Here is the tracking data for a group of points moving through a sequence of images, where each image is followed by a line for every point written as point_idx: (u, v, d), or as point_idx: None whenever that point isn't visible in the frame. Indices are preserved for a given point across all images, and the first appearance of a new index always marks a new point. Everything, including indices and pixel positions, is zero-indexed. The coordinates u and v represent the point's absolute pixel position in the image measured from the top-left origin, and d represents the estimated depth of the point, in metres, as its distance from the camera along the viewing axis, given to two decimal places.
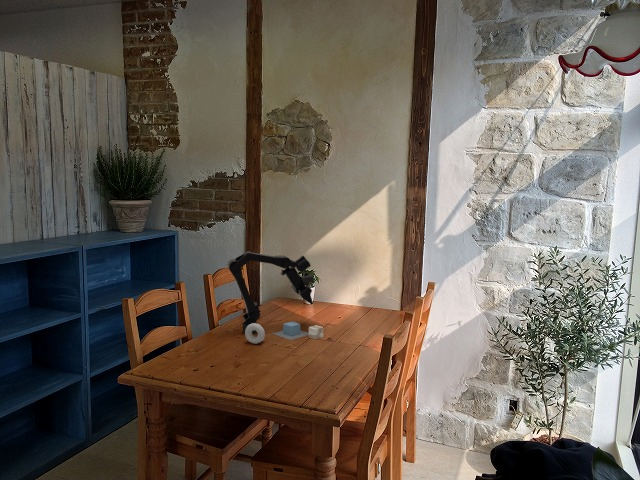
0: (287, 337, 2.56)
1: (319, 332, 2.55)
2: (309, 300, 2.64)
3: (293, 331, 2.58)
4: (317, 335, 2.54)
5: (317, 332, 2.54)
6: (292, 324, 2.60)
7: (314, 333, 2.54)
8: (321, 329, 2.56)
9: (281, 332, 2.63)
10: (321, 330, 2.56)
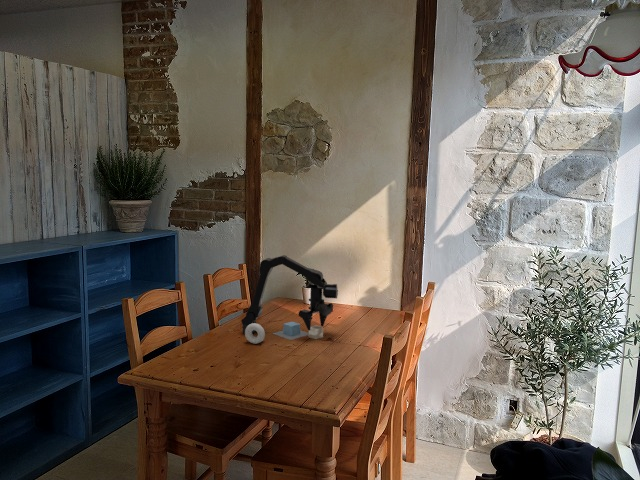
0: (287, 337, 2.56)
1: (319, 332, 2.55)
2: (307, 325, 2.52)
3: (293, 331, 2.58)
4: (317, 335, 2.54)
5: (317, 332, 2.54)
6: (292, 324, 2.60)
7: (314, 333, 2.54)
8: (321, 329, 2.56)
9: (281, 332, 2.63)
10: (321, 330, 2.56)
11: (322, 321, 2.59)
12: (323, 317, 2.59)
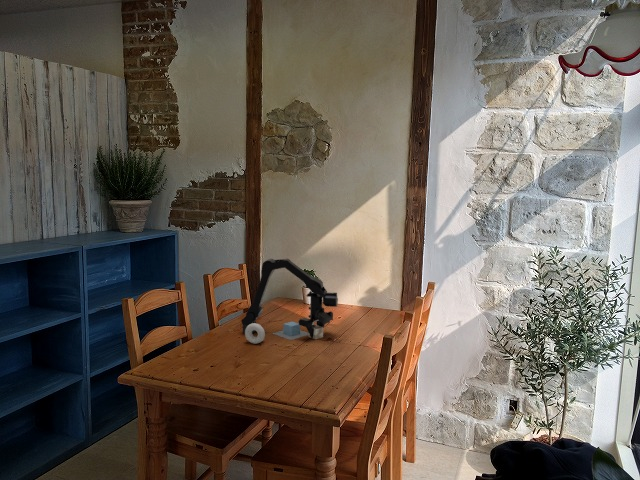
0: (287, 337, 2.56)
1: (319, 332, 2.55)
2: (310, 332, 2.54)
3: (293, 331, 2.58)
4: (317, 335, 2.54)
5: (317, 332, 2.54)
6: (292, 324, 2.60)
7: (314, 333, 2.54)
8: (321, 329, 2.56)
9: (281, 332, 2.63)
10: (321, 330, 2.56)
11: None
12: None
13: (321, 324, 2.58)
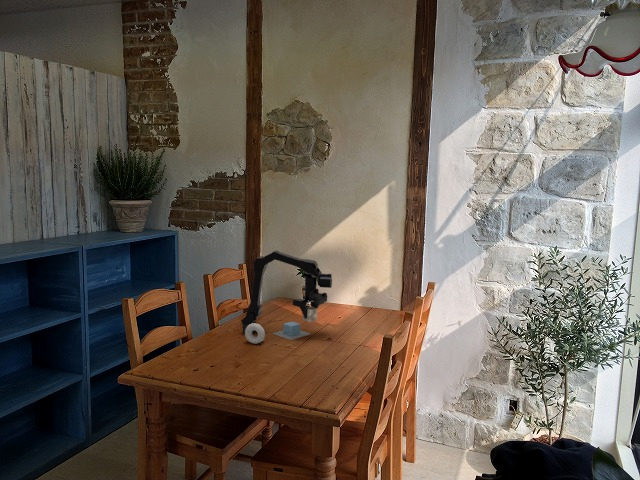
0: (287, 337, 2.56)
1: (312, 313, 2.55)
2: (303, 313, 2.54)
3: (293, 331, 2.58)
4: (311, 316, 2.54)
5: (311, 313, 2.54)
6: (292, 324, 2.60)
7: (308, 314, 2.54)
8: (315, 310, 2.56)
9: (281, 332, 2.63)
10: (315, 311, 2.56)
11: None
12: (314, 307, 2.58)
13: (315, 305, 2.58)
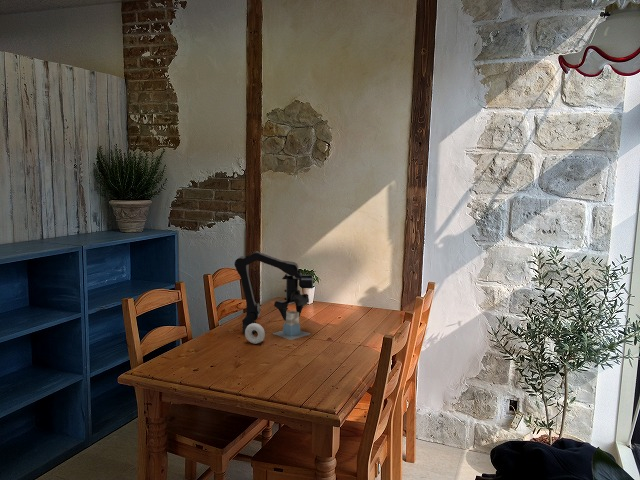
0: (287, 337, 2.56)
1: (294, 317, 2.59)
2: (282, 315, 2.57)
3: (293, 331, 2.58)
4: (293, 320, 2.58)
5: (293, 317, 2.58)
6: None
7: (290, 318, 2.58)
8: (297, 314, 2.60)
9: (281, 332, 2.63)
10: (297, 315, 2.60)
11: None
12: (299, 308, 2.63)
13: (300, 306, 2.63)
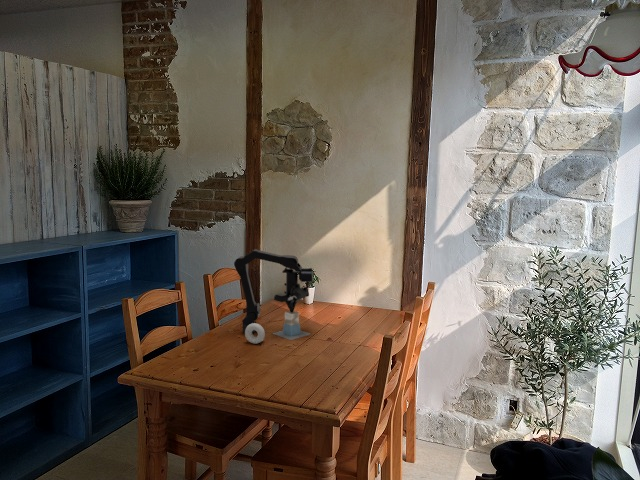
0: (287, 337, 2.56)
1: (294, 317, 2.59)
2: (289, 307, 2.59)
3: (293, 331, 2.58)
4: (293, 320, 2.58)
5: (293, 317, 2.58)
6: None
7: (290, 318, 2.58)
8: (297, 314, 2.60)
9: (281, 332, 2.63)
10: (297, 315, 2.60)
11: None
12: (293, 303, 2.60)
13: (293, 301, 2.59)
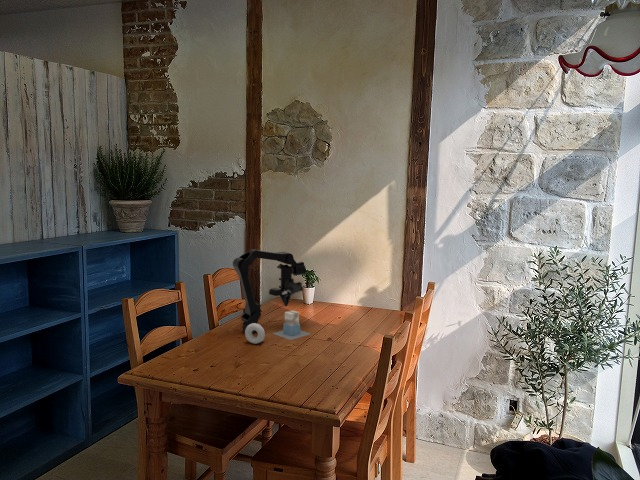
0: (287, 337, 2.56)
1: (294, 317, 2.59)
2: (283, 301, 2.71)
3: (293, 331, 2.58)
4: (293, 320, 2.58)
5: (293, 317, 2.58)
6: None
7: (290, 318, 2.58)
8: (297, 314, 2.60)
9: (281, 332, 2.63)
10: (297, 315, 2.60)
11: None
12: (287, 297, 2.71)
13: (287, 295, 2.71)
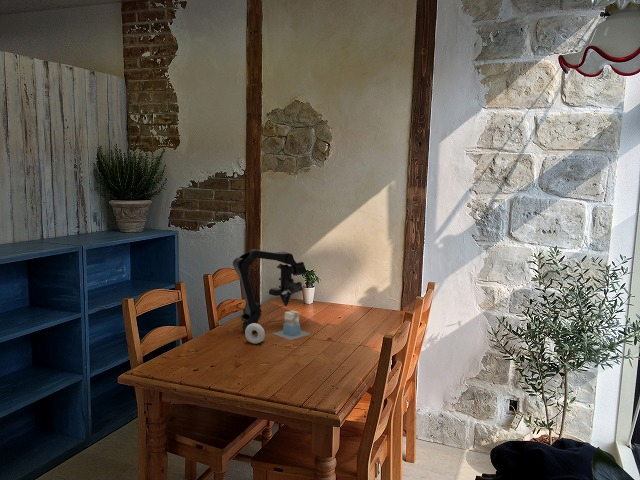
0: (287, 337, 2.56)
1: (294, 317, 2.59)
2: (283, 301, 2.71)
3: (293, 331, 2.58)
4: (293, 320, 2.58)
5: (293, 317, 2.58)
6: None
7: (290, 318, 2.58)
8: (297, 314, 2.60)
9: (281, 332, 2.63)
10: (297, 315, 2.60)
11: None
12: (287, 297, 2.72)
13: (287, 295, 2.71)
